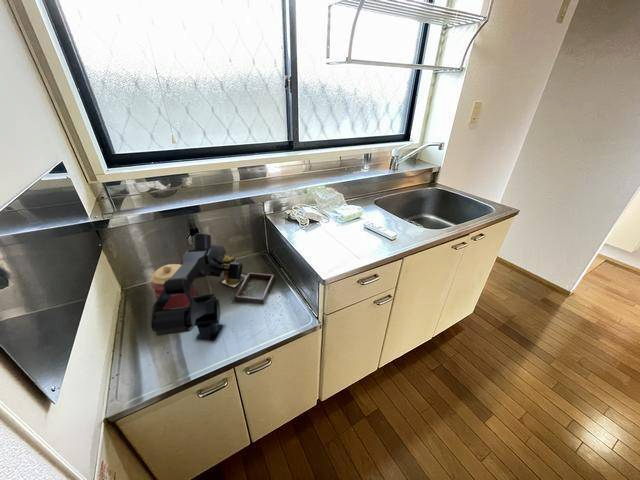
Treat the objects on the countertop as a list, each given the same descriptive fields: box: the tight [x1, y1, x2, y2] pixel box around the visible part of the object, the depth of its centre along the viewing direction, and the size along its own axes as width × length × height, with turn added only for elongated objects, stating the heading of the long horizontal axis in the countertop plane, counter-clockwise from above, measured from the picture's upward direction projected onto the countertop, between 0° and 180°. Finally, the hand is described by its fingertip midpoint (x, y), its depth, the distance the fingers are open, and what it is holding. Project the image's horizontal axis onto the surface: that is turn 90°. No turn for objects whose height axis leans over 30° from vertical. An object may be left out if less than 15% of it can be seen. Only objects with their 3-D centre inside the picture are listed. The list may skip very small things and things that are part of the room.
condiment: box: [221, 254, 247, 288], centre depth 110 cm, size 7×8×12 cm
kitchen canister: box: [150, 263, 197, 310], centre depth 97 cm, size 13×13×18 cm
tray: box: [234, 271, 275, 305], centre depth 108 cm, size 16×12×2 cm
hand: (226, 272), depth 105 cm, fingers open, 9 cm apart
